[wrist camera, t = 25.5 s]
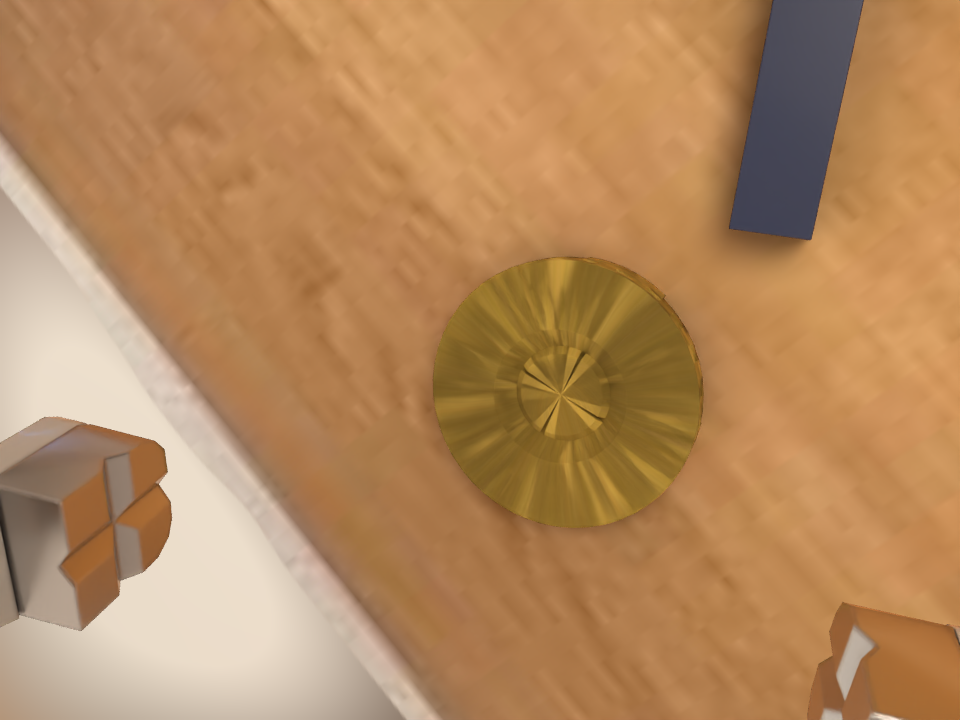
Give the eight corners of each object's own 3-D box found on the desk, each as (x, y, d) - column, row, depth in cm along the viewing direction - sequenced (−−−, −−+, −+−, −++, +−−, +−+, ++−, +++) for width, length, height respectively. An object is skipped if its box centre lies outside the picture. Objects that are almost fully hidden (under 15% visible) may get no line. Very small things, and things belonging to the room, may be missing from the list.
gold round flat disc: (492, 528, 40) (476, 545, 38) (421, 296, 39) (401, 301, 37) (737, 486, 36) (733, 503, 34) (663, 221, 35) (654, 223, 33)
